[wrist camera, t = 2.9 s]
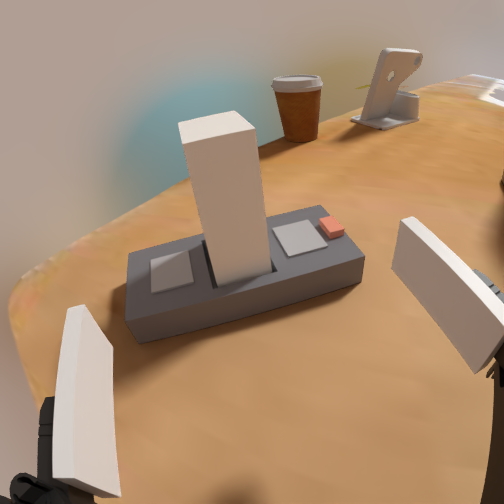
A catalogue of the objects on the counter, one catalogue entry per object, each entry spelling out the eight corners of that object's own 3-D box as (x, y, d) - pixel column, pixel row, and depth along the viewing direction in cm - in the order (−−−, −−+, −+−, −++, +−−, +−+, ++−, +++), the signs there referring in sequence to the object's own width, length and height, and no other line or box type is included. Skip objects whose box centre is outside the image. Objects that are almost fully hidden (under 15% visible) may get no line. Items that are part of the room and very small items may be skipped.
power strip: (320, 228, 34) (320, 198, 32) (361, 281, 27) (365, 249, 25) (138, 275, 32) (126, 247, 29) (138, 344, 25) (121, 315, 22)
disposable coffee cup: (329, 144, 54) (326, 80, 47) (276, 146, 55) (270, 83, 48) (322, 129, 62) (319, 73, 54) (276, 131, 63) (270, 76, 55)
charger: (253, 241, 31) (234, 110, 23) (272, 283, 27) (255, 128, 19) (208, 253, 31) (177, 122, 23) (220, 297, 26) (182, 144, 18)
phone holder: (390, 110, 72) (389, 46, 61) (422, 120, 65) (424, 51, 54) (348, 120, 66) (345, 44, 55) (384, 131, 59) (384, 48, 48)
